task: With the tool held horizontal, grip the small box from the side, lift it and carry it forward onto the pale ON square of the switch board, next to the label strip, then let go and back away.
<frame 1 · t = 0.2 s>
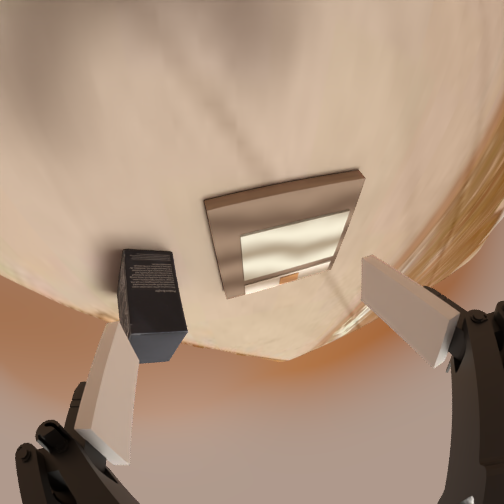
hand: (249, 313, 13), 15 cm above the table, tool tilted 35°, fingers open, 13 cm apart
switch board: (282, 239, 36), on the table
small box: (142, 273, 34), on the table
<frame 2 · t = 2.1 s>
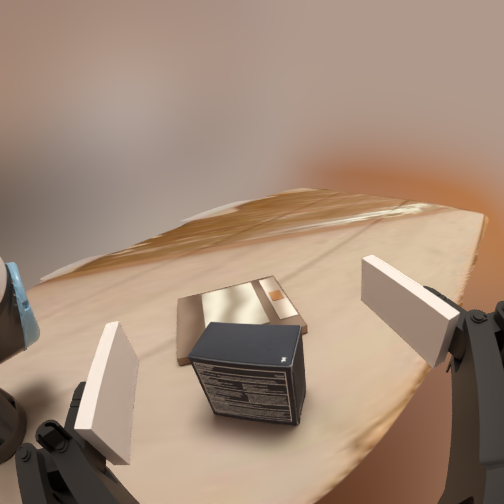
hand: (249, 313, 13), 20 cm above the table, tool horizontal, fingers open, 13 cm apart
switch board: (234, 318, 47), on the table
small box: (261, 402, 30), on the table
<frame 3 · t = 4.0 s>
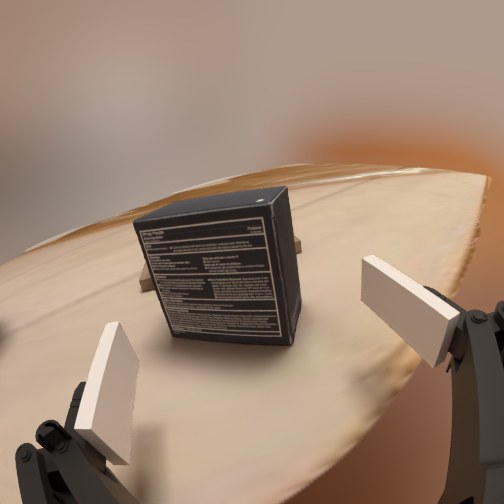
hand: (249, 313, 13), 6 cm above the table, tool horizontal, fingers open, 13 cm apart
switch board: (215, 247, 41), on the table
small box: (238, 321, 23), on the table
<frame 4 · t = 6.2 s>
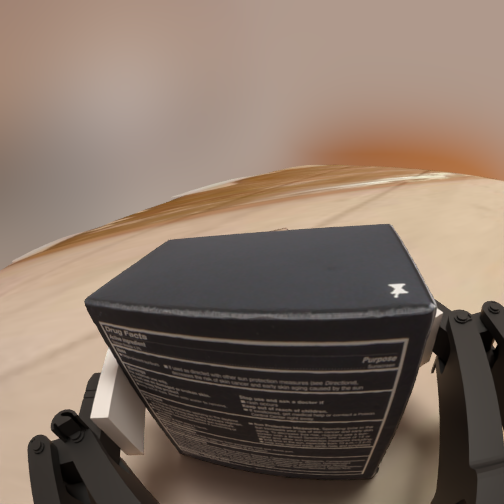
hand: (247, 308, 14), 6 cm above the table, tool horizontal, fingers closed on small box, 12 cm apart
small box: (282, 429, 13), on the table, touching gripper
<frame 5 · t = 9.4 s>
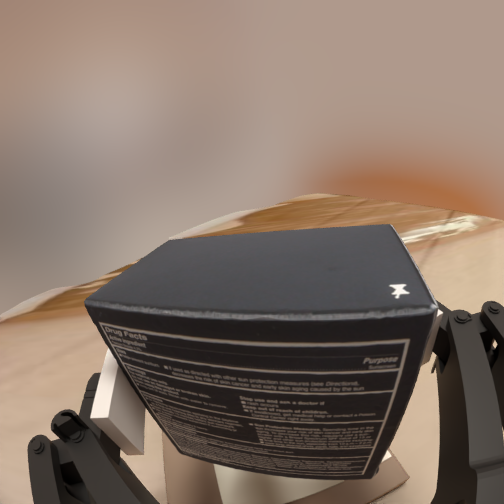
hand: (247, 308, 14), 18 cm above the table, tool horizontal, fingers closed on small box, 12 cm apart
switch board: (268, 456, 20), on the table
small box: (283, 429, 13), point 12 cm above the table, touching gripper
when the fingers open (9 cm above the table, at t = 12.2 s): small box drops 1 cm, resting on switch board.
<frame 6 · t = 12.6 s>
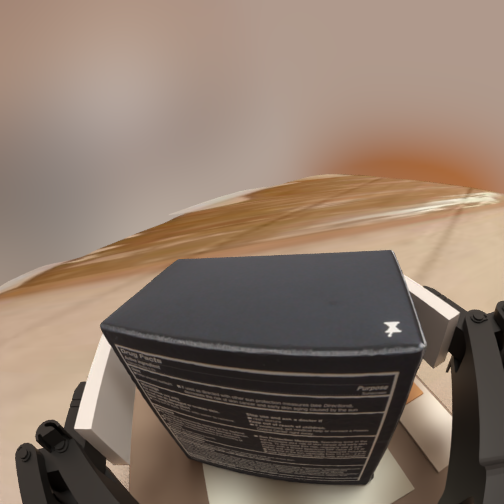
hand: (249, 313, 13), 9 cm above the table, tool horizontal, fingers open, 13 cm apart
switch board: (290, 460, 13), on the table
small box: (285, 436, 13), point 2 cm above the table, touching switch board
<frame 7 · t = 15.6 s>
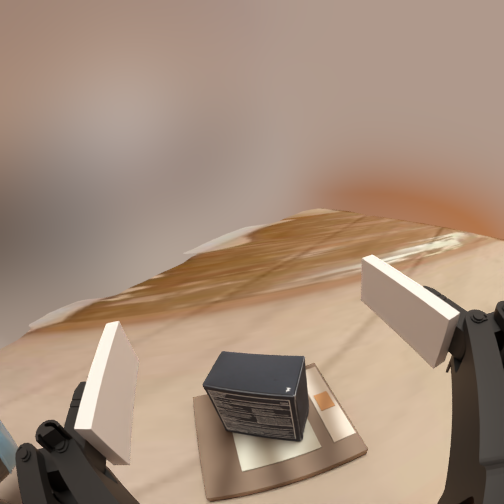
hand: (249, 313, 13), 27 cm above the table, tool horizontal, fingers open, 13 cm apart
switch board: (271, 431, 31), on the table
small box: (268, 420, 32), point 2 cm above the table, touching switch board
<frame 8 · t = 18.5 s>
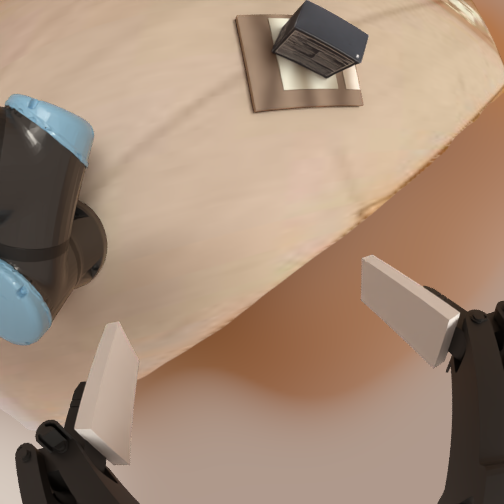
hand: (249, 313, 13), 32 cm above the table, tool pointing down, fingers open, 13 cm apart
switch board: (301, 59, 37), on the table
small box: (304, 51, 35), point 2 cm above the table, touching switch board
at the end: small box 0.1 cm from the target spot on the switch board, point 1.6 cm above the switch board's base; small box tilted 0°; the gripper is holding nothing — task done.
